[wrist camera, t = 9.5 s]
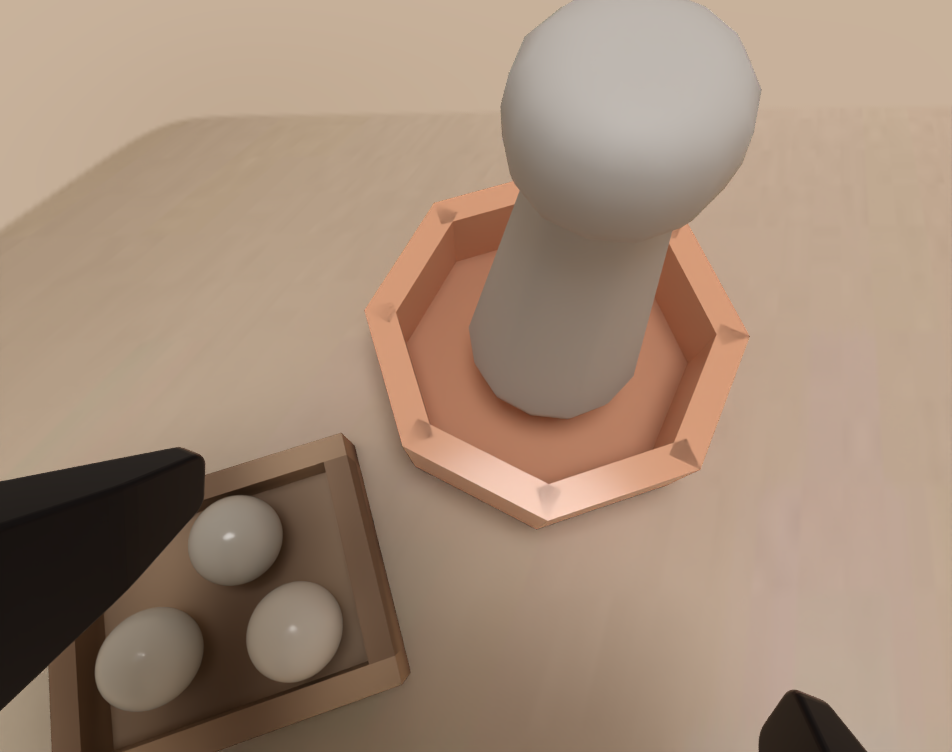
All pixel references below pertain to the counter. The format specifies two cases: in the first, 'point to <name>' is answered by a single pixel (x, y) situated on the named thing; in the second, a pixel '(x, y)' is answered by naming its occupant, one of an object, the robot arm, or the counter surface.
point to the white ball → (149, 659)
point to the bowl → (534, 437)
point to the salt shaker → (604, 189)
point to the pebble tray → (230, 608)
